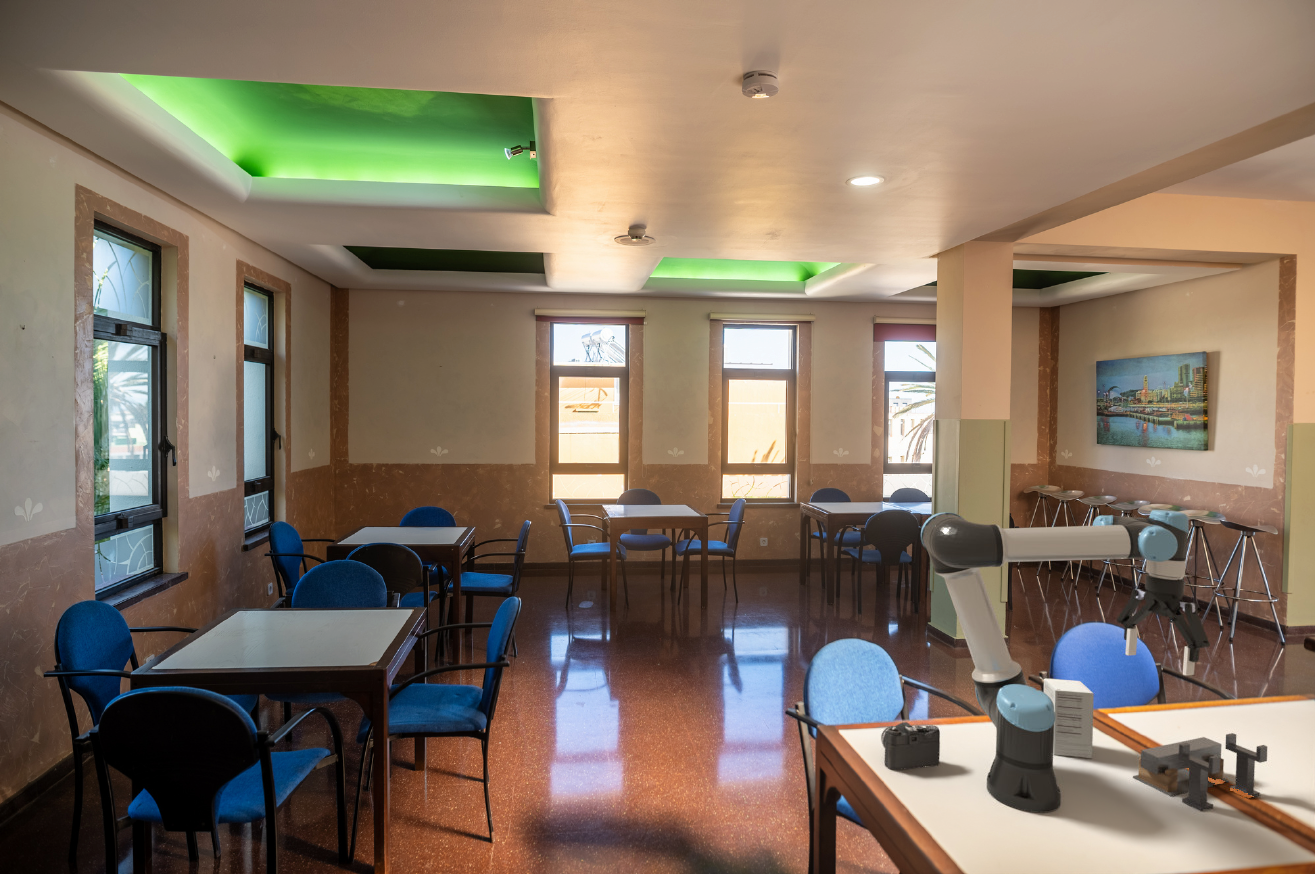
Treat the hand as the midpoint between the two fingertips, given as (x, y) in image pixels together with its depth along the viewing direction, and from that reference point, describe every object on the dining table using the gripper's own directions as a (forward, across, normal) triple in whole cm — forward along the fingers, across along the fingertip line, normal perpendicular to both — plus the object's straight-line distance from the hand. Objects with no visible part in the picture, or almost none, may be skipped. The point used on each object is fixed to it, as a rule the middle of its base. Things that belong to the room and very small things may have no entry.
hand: (1158, 664), depth 171 cm
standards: (+28, -11, -7) cm, 31 cm away
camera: (+30, +28, +49) cm, 64 cm away
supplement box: (+29, +19, +5) cm, 35 cm away
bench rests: (+28, -2, -7) cm, 29 cm away
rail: (+24, -2, -7) cm, 25 cm away
